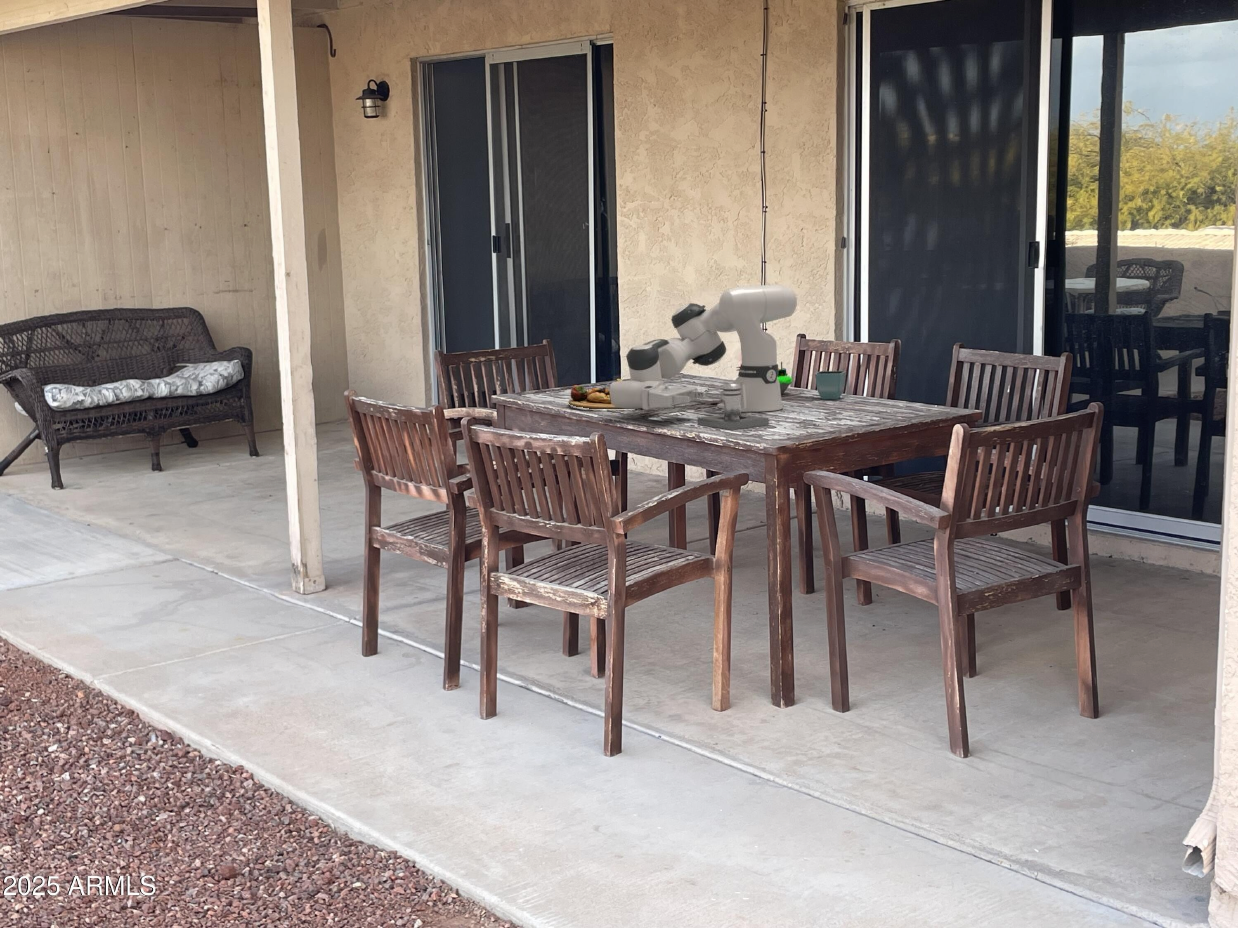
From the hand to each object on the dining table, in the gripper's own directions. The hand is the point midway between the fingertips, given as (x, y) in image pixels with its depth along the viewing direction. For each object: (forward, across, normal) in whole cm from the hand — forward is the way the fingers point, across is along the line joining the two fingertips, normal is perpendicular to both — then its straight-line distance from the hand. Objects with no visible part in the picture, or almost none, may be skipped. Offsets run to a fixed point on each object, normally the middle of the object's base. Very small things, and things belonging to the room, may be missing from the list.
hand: (697, 397), depth 411 cm
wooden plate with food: (-46, -29, -9) cm, 55 cm away
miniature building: (-6, -69, -8) cm, 70 cm away
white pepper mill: (+12, 0, -8) cm, 14 cm away
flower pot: (+17, -63, -8) cm, 66 cm away
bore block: (+12, 0, -8) cm, 14 cm away
